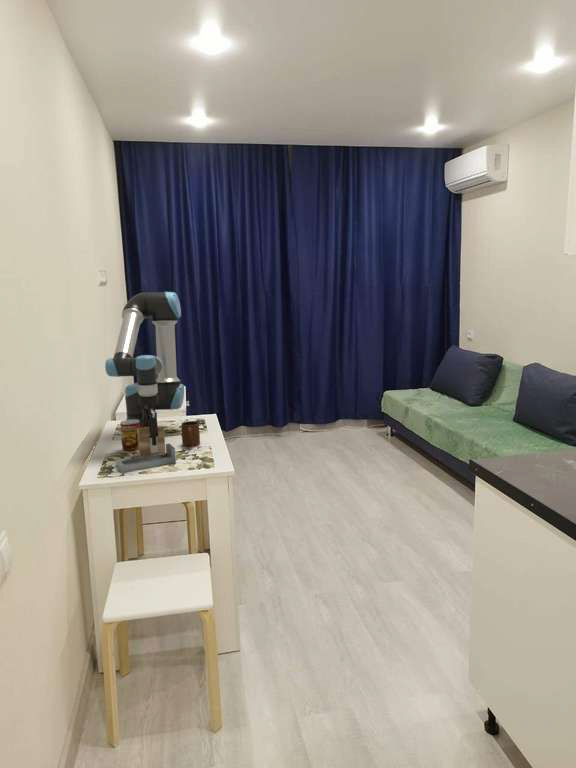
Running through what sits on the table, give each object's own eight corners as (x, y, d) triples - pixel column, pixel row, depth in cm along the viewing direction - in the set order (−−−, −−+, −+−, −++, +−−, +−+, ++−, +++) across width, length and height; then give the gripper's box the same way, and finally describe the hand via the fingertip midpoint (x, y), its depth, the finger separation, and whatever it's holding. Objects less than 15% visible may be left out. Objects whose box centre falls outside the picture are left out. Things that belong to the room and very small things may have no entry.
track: (116, 467, 217) (115, 452, 216) (170, 457, 227) (169, 443, 226) (120, 472, 211) (119, 457, 210) (175, 462, 221) (174, 448, 220)
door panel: (139, 457, 229) (137, 428, 227) (163, 453, 234) (161, 424, 231) (141, 459, 226) (138, 430, 224) (165, 454, 231) (163, 426, 229)
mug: (199, 449, 237) (198, 427, 236) (181, 450, 236) (179, 428, 235) (200, 441, 249) (199, 420, 247) (182, 442, 248) (181, 421, 246)
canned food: (119, 452, 236) (117, 424, 234) (125, 446, 244) (123, 419, 242) (138, 452, 236) (136, 424, 234) (143, 446, 244) (141, 419, 241)
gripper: (132, 391, 232) (137, 445, 236) (144, 399, 215) (149, 458, 220) (151, 389, 235) (154, 443, 240) (164, 397, 219) (167, 455, 223)
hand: (152, 450), depth 230 cm, fingers open, 6 cm apart
